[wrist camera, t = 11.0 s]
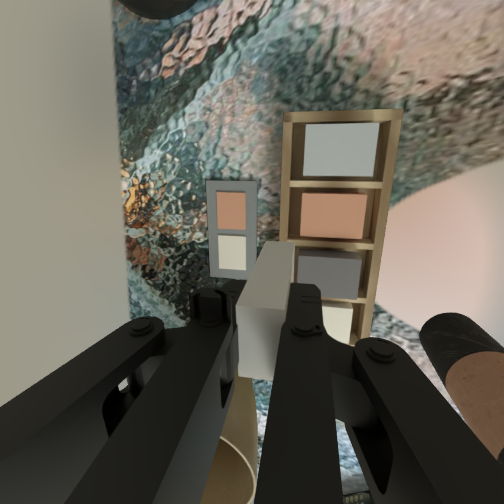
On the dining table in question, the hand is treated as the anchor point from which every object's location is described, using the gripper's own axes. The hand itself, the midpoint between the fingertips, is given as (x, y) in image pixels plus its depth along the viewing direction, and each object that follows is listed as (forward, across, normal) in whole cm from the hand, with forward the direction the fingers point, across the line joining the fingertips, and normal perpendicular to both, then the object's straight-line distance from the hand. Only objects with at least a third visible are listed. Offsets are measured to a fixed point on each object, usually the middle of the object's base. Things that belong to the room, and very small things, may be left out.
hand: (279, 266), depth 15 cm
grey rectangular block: (+20, +4, -8) cm, 22 cm away
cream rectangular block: (+21, +4, -16) cm, 27 cm away
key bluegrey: (+21, +4, +6) cm, 22 cm away
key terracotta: (+22, +4, -2) cm, 22 cm away
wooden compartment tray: (+23, +4, -5) cm, 24 cm away
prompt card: (+23, -9, -5) cm, 26 cm away
